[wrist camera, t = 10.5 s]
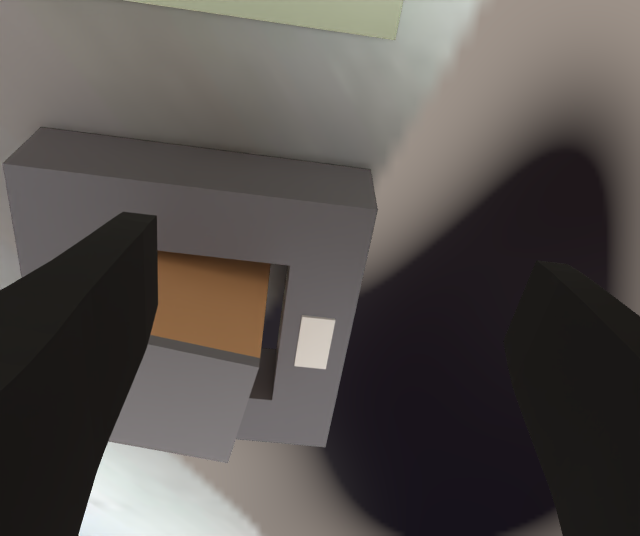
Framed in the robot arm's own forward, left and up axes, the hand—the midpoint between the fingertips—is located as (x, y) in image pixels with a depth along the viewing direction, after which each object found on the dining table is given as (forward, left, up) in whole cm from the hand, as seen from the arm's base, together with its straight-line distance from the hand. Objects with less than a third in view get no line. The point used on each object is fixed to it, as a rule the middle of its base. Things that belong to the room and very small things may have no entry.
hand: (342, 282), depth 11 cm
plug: (-4, -8, -10) cm, 14 cm away
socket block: (-4, -8, -10) cm, 14 cm away
